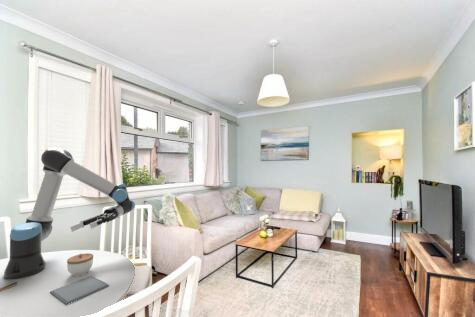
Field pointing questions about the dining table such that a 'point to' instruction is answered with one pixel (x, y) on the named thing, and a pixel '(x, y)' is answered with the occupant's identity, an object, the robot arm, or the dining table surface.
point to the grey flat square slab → (78, 289)
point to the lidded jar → (80, 264)
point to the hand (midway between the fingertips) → (80, 227)
